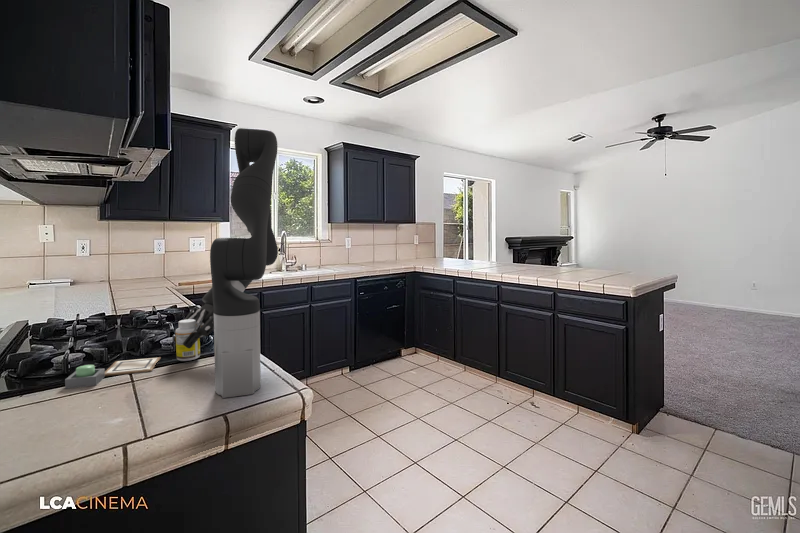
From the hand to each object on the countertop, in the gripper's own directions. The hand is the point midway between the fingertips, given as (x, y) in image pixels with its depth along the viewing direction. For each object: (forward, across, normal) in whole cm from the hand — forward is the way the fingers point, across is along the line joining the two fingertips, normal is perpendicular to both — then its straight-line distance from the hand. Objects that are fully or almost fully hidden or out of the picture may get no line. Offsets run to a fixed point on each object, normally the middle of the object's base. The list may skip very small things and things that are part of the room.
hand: (180, 344), depth 97 cm
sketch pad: (+10, -5, -3) cm, 12 cm away
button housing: (+17, -2, -10) cm, 20 cm away
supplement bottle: (+2, 0, +4) cm, 5 cm away
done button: (+16, -2, -11) cm, 20 cm away
